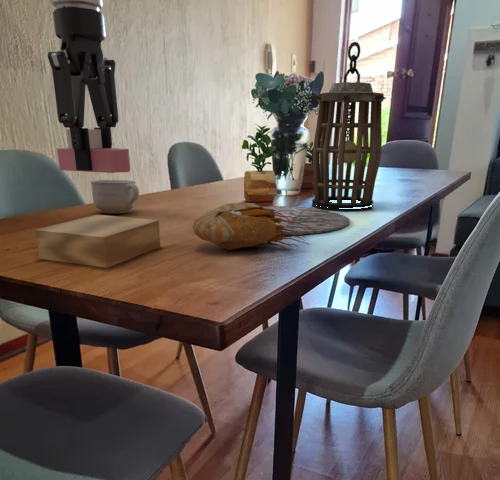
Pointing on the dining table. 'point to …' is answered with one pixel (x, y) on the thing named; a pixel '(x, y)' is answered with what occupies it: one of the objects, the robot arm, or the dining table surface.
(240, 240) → the nautilus
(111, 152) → the pink-and-white stacked brick
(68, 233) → the block
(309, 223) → the grey-brown round placemat
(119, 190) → the teacup
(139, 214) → the dining table surface
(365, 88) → the lantern
